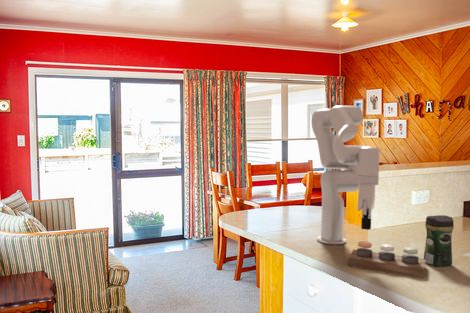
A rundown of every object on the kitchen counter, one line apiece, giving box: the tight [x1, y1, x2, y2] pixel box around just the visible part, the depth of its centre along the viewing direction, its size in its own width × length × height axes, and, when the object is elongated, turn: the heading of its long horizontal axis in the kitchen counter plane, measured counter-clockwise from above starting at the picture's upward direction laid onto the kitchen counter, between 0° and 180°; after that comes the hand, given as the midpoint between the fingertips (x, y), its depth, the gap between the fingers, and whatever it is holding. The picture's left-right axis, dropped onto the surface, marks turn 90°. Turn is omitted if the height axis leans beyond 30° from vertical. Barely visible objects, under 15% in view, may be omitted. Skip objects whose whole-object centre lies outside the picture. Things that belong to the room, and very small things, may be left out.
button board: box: [347, 247, 426, 278], centre depth 163 cm, size 12×26×5 cm, turn 65°
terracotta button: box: [357, 240, 373, 249], centre depth 166 cm, size 5×5×1 cm
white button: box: [379, 243, 395, 252], centre depth 163 cm, size 5×5×1 cm
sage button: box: [403, 246, 419, 255], centre depth 160 cm, size 5×5×1 cm
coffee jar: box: [423, 214, 455, 267], centre depth 167 cm, size 10×8×19 cm
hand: (366, 228), depth 165 cm, fingers closed
